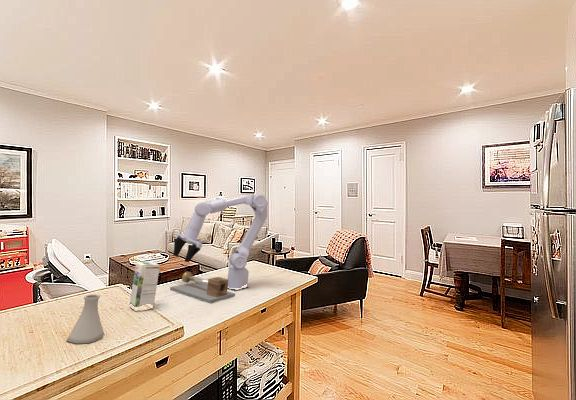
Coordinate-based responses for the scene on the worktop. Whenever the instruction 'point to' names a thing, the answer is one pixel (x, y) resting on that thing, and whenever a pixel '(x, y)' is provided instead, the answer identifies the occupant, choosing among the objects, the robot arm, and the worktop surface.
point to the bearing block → (217, 287)
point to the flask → (88, 322)
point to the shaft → (193, 278)
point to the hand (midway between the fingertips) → (180, 258)
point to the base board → (199, 292)
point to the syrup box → (144, 283)
